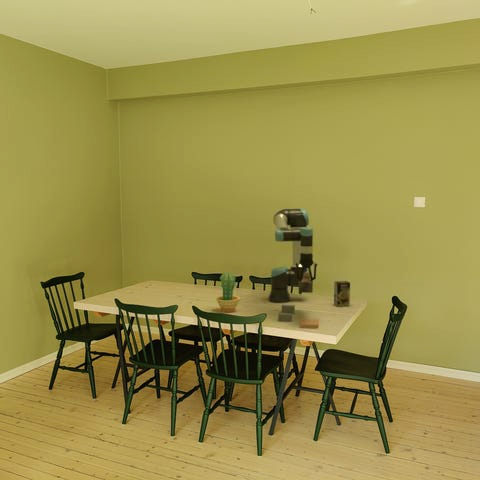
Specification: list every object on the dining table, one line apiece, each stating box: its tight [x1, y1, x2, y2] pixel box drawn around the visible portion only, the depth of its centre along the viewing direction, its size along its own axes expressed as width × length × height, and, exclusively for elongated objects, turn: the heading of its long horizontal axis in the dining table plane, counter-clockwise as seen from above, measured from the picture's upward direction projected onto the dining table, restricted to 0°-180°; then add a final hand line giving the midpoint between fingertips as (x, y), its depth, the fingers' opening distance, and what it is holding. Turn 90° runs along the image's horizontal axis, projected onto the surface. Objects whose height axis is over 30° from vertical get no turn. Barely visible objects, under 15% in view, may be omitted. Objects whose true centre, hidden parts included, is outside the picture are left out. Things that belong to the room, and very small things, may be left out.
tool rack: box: [277, 304, 296, 322], centre depth 290 cm, size 8×24×4 cm, turn 169°
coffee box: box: [333, 280, 351, 308], centre depth 314 cm, size 9×6×16 cm
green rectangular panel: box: [299, 318, 320, 329], centre depth 271 cm, size 10×2×12 cm
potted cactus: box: [216, 271, 241, 313], centre depth 305 cm, size 15×15×25 cm
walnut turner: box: [298, 273, 314, 294], centre depth 286 cm, size 8×30×6 cm, turn 170°
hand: (306, 290), depth 287 cm, fingers closed on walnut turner, 4 cm apart
